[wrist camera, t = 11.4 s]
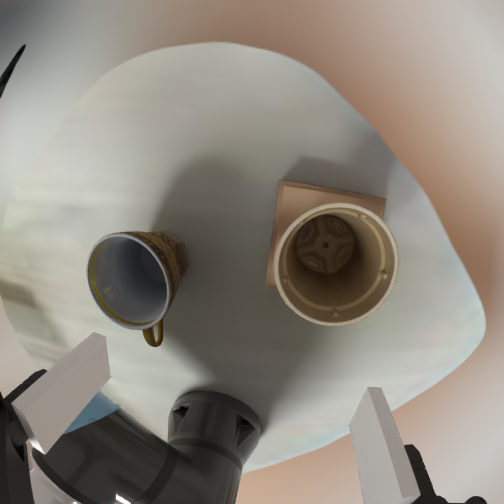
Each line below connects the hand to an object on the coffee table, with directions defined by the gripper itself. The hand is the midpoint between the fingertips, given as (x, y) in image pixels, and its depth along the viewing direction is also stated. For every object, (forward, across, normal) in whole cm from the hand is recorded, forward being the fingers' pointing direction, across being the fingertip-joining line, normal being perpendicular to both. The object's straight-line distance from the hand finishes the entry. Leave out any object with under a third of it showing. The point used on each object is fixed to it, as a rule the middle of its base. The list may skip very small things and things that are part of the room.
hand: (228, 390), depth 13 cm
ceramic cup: (+23, +12, +2) cm, 26 cm away
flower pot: (+18, -6, -5) cm, 20 cm away
